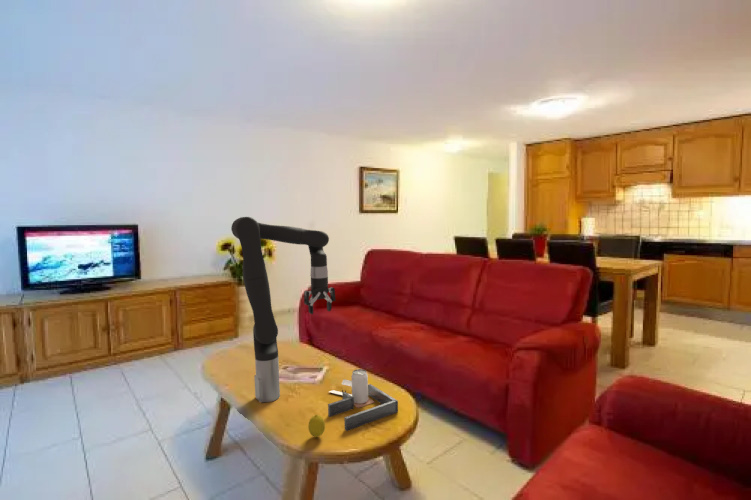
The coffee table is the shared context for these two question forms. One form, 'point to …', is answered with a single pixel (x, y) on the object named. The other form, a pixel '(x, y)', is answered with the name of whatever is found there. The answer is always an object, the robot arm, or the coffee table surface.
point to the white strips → (345, 382)
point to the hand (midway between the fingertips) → (320, 312)
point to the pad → (364, 403)
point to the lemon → (316, 425)
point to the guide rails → (368, 415)
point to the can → (360, 386)
